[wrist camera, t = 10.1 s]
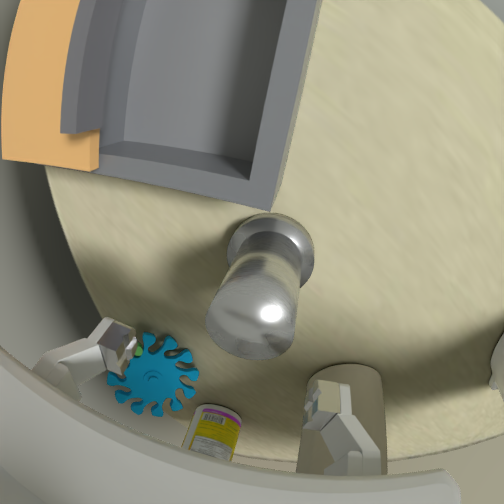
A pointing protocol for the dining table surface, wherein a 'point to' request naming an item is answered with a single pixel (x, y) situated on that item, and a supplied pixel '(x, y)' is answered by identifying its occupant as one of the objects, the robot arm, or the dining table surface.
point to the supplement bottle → (213, 431)
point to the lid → (57, 81)
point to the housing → (206, 95)
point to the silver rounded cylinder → (261, 287)
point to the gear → (154, 376)
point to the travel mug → (363, 407)
